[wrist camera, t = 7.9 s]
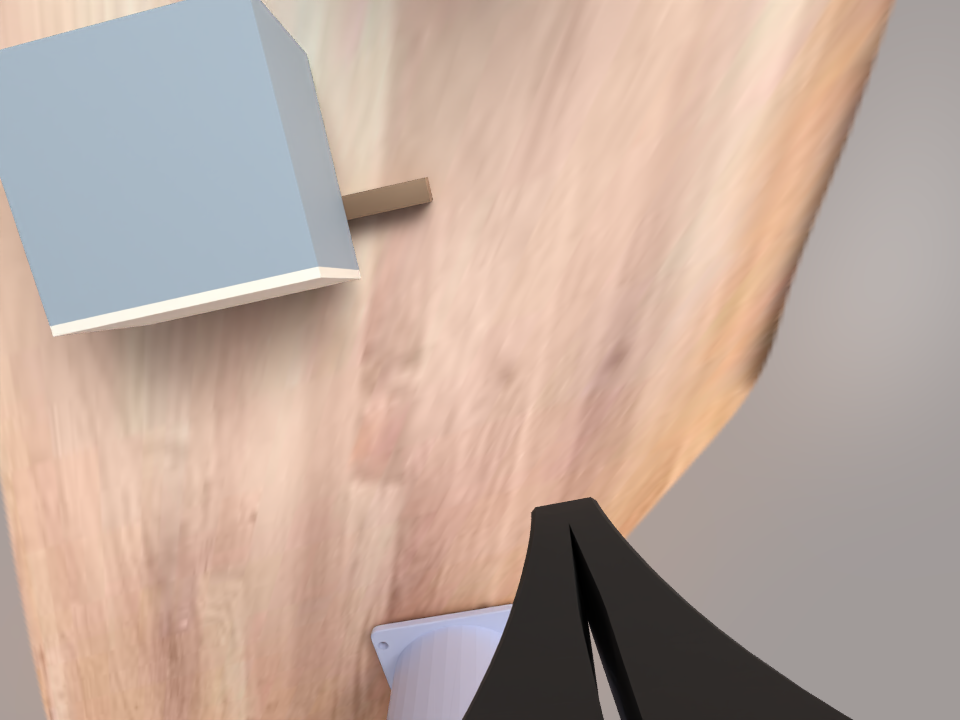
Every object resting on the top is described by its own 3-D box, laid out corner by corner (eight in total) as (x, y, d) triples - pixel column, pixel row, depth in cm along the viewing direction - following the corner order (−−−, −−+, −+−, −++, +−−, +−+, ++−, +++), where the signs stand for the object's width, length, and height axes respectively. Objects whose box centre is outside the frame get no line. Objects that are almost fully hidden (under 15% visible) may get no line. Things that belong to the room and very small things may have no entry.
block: (321, 277, 14) (246, -16, 13) (53, 336, 14) (-39, 60, 13) (361, 278, 18) (306, 54, 17) (149, 325, 18) (84, 110, 17)
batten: (433, 200, 18) (430, 201, 17) (78, 278, 19) (57, 284, 18) (427, 176, 18) (424, 177, 17) (67, 258, 19) (46, 262, 18)
